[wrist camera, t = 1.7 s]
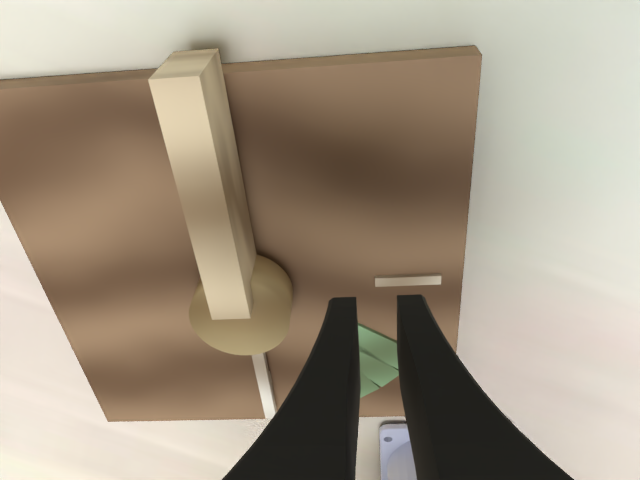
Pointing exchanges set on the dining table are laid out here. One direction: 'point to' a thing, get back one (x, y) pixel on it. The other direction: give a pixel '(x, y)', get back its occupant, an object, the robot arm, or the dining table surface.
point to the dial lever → (219, 216)
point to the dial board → (264, 210)
